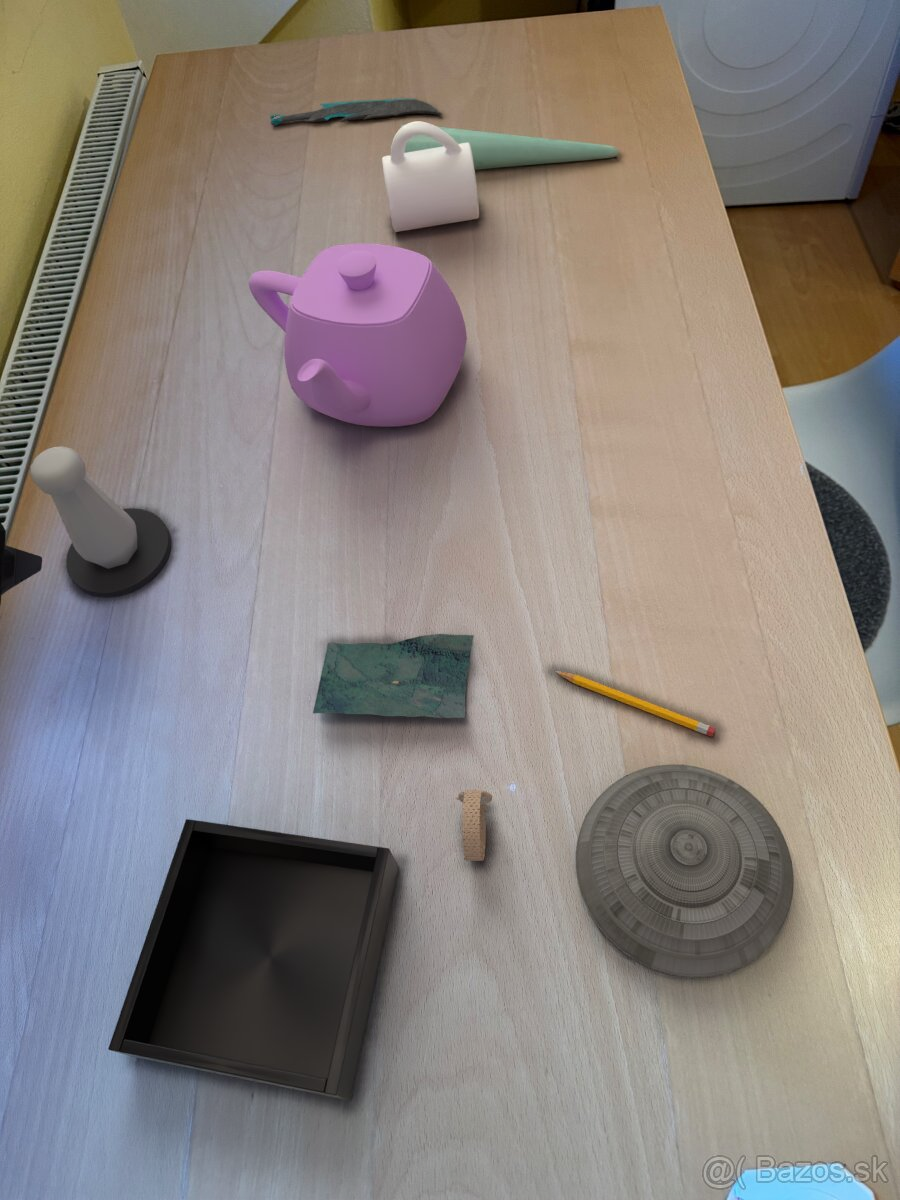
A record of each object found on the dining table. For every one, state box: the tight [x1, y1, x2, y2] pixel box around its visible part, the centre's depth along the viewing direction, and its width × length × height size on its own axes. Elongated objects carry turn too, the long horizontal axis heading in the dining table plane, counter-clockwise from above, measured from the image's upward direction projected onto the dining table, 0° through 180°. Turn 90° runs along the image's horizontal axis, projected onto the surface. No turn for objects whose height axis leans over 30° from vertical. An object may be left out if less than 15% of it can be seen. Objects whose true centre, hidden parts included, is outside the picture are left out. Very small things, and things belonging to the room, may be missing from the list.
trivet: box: [66, 507, 172, 598], centre depth 87 cm, size 10×10×1 cm
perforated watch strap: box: [455, 789, 493, 862], centre depth 66 cm, size 3×5×5 cm, turn 178°
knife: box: [269, 98, 443, 127], centre depth 125 cm, size 24×1×5 cm
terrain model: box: [312, 633, 474, 719], centre depth 75 cm, size 13×8×2 cm, turn 86°
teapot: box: [248, 243, 468, 427], centre depth 88 cm, size 23×21×15 cm
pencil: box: [555, 670, 716, 738], centre depth 72 cm, size 1×13×1 cm, turn 63°
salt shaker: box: [29, 445, 137, 569], centre depth 81 cm, size 6×6×13 cm
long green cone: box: [400, 124, 619, 171], centre depth 112 cm, size 5×6×27 cm
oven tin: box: [108, 818, 400, 1102], centre depth 63 cm, size 16×16×4 cm
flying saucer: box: [575, 763, 795, 978], centre depth 63 cm, size 15×15×6 cm
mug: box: [381, 120, 480, 233], centre depth 105 cm, size 8×10×12 cm
